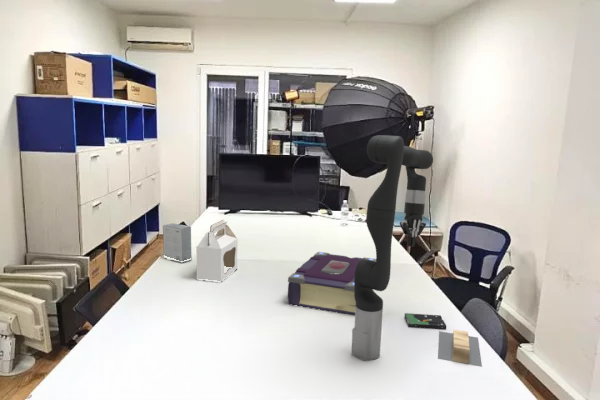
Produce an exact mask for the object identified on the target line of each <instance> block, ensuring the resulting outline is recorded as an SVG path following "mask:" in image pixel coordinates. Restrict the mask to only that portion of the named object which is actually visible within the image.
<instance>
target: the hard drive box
mask: <svg viewBox="0 0 600 400" xmlns="http://www.w3.org/2000/svg"><path fill="white" fill-rule="evenodd" d="M162 236H163V237H162V238H163V239H162V243H163V244H162V245H163V256H164V255H165V256H167V257H170V258H174V259H176V260H179V261H184V260H187V259H190V258H191V259H192V227H191V225H184V224H179V223H168V224H164V225H162Z"/></svg>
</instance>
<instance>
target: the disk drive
mask: <svg viewBox="0 0 600 400" xmlns="http://www.w3.org/2000/svg"><path fill="white" fill-rule="evenodd" d="M404 321H405V323H406V325H407V327H408V328H412V329H426V330H427V329H429V330H440V331H441V330H443V331H445V330H447V325H446V323H445V320H443V317H442V316H441V315H440V314H439V315H438V314H427V313H426V314H422V313H407V312H405V313H404Z"/></svg>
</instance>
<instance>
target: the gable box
mask: <svg viewBox="0 0 600 400" xmlns="http://www.w3.org/2000/svg"><path fill="white" fill-rule="evenodd" d="M227 224H228V221H225V219H221V220H220V221H217V222H216V223H213V224H211V225H210V228H209V231H207V232H206V233H204V236H203V237H202V239H201V240H200V241H199V243H198V244H197V245H196V279H197V278H198V279H208V280H217V281H222V280H223V279H224V278H226V277H227V276H228V275H229V274H231V273H232V272H233V271H234V270H235V269H237V270H238V238H237V236H236V235H235V234H234V232H233V231H232V229H231V228H230V226H229V225H227ZM215 233H216V234H215ZM224 266H226V267H232V268H229V269H228V270H227V272H226V273H224ZM231 275H232V274H231ZM226 279H227V278H226Z"/></svg>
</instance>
